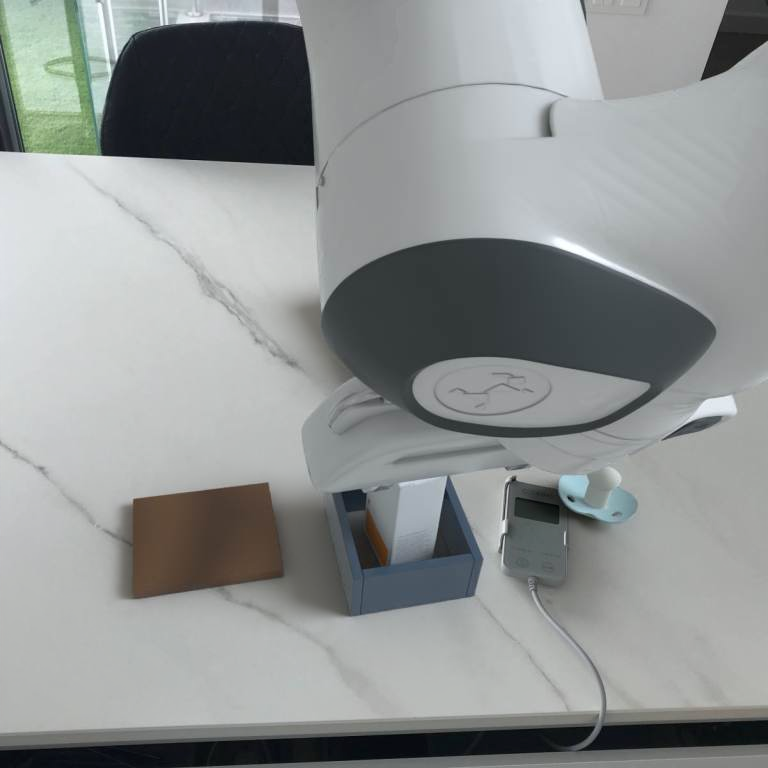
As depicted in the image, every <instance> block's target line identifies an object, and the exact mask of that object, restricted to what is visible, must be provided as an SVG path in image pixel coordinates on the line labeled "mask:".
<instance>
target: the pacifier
mask: <svg viewBox="0 0 768 768" xmlns="http://www.w3.org/2000/svg"><path fill="white" fill-rule="evenodd" d="M621 483H622V475H621V474H620V472H619V471H618V470H616V469H615V468H614V467H611V466H610V465H609V466H607V467H605V468H603V469H601V470H599V471H596V472H593V473H589V474H584V475H561V477H560V478H559V481H558V484H557V491H558V496H559V498H560V500H561V501H562V503H563V504H564V505H565V506H566V507H567V508H568V509H569V510H571V511H572V512H574V513H577V514H580V515H583V516H585V517H588V518H591V519H595V520H597V521H599V522H601V523H605V524H609V525H616V524H617V525H618V524H621V523H625V522H627V521H629V520H630V519H631V518H633V517H634V515H635V514H636V513H637V511H638V507H639V503H638V499H636V497H635V496H634V494H632V493H630V492H629V491H628V490H626V489H623V488H622V487H619V486H620V485H621ZM568 497H569V498H570V499H571V500H572V501H571V500H570V499H569V498H568ZM613 515H620V516H613Z"/></svg>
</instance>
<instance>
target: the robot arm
mask: <svg viewBox="0 0 768 768" xmlns="http://www.w3.org/2000/svg"><path fill="white" fill-rule="evenodd" d="M295 3H296V7H297V10H298V14H299V18H300V23H301V28H302V33H303V40H304V44H305V50H306V57H307V63H308V71H309V80H310V81H309V83H310V95H311V97H310V99H311V117H312V118H311V119H312V139H313V159H314V160H313V161H314V181H315V189H314V211H315V212H314V213H315V215H314V216H315V236H316V237H315V238H316V255H317V272H318V273H317V274H318V289H319V300H320V301H319V302H320V311H321V316H320V317H321V318H320V328H321V332H322V336H323V339H324V341H325V343H326V345H327V346H328V348H329V350H330V351H331V352H332V353H333V354H334V356H335V357H336V358H337V360H338V361H339V362H340V363H341V364H342V365H343V366H344V367H345V368H346V369H347V370H348V371H349V372H350V373H351V374H352V375H353V377H351V378H350V379H348V380H346V381H345V382H343V383H342V384H341V385H340V386H338V387H337V388H336V389H335V390H334V391H333V392H331V393H330V394H329V395H327V397H326V398H325V399H324V400H323V401H321V403H320V404H319V405H318V406H317V407H316V408H314V410H313V411H312V412H310V415H309V416H307V418H306V419H305V420H304V421H303V424H302V426H301V443H302V449H303V454H304V460H305V464H306V468H307V471H308V475H309V478H310V481H311V484H312V486H313V487H314V488H315V489H316V490H318V491H320V492H323V493H325V494H326V493H337V492H343V491H350V490H356V489H362V491H363V492H364V493H369V492H376V491H382V490H387V489H389V488H390V487H391V486H393V485H394V484H396V483H403V482H410V481H416V480H423V479H430V478H436V477H443V476H450V477H451V476H456V475H463V474H469V473H476V472H482V471H483V472H484V471H488V470H496V469H502V468H504V469H505V470H506V471H507V472H508V471H509V472H510V471H511V472H512V471H517V470H519V471H520V470H524V469H530V468H532V467H534V468H536V469H539V470H541V471H544V472H546V473H550V474H551V473H552V474H556V475H561V476H564V475H587V474H589V473H593V472H596V471H599V470H601V469H603V468H605V467H607V466H609V467H610V466H611V465H612V464H614V463H616V462H617V461H619V460H621V459H624V458H625V457H627V456H634V455H636V454H638V453H640V452H642V451H645V450H646V449H647V448H649V447H651V446H653V445H655V444H657V443H659V442H660V441H661V442H663V441H666V440H669V439H674V438H676V437H680V436H685V435H689V434H694V433H699V432H701V431H705V430H710V429H712V428H715V427H718V426H720V425H721V424H723V423H725V422H727V421H729V420H730V419H732V418H734V417H735V416H736V415H737V414H738V408H737V405H736V402H735V399H734V398H735V397H734V396H733V395H737V394H740V393H743V392H745V391H748V390H750V389H752V388H755V387H756V386H758V385H760V384H761V383H763V382H765V381H767V380H768V40H766V41H765V42H764V43H763V44H762V45H760V46H758V47H757V48H756V49H754V50H753V51H751V52H749V54H747V55H746V56H745V57H743V58H742V59H741V60H739V61H738V62H737V63H736V64H735V65H734V66H732V67H731V68H729V69H728V70H725V72H724V71H723V72H722V73H719V74H717V75H714V76H711V77H708V78H706V79H702V80H699V81H696V82H694V83H690V84H688V85H685V86H682V87H677V88H674V89H670V90H665V91H660V92H656V93H650V94H644V95H639V96H634V97H633V96H632V97H626V98H616V99H615V98H613V99H605V95H604V91H603V86H602V83H601V78H600V75H599V71H598V66H597V62H596V59H595V55H594V51H593V46H592V42H591V39H590V38H591V37H590V35H589V30H588V24H587V9H586V3H585V0H295Z"/></svg>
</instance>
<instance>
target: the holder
mask: <svg viewBox="0 0 768 768" xmlns="http://www.w3.org/2000/svg"><path fill="white" fill-rule="evenodd" d="M324 497H325V498H324V510H325V511H324V512H325V515H326V519H327V523H328V528H329V533H330V536H331V540H332V544H333V548H334V553H335V557H336V561H337V566H338V571H339V573H340V579H341V581H342V587H343V591H344V595H345V599H346V603H347V609H348V612H349V615H350V617H357V616H360V615H362V616H363V615H367V614H374V613H379V612H385V611H392V610H398V609H399V610H400V609H404V608H411V607H415V606H416V607H417V606H422V605H428V604H434V603H441V602H446V601H452V600H458V599H463V598H464V599H465V598H470V597H471V598H472V597H474V596H475V594H476V592H477V587H478V583H479V579H480V574H481V571H482V567H483V564H484V557H483V554H482V552H481V549H480V547H479V544H478V542H477V539H476V538H475V535H474V532H473V530H472V528H471V527H472V526H471V525H470V523H469V520H468V518H467V515H466V513H465V510H464V507H463V505H462V503H461V500H460V498H459V496H458V493H457V491H456V489H455V486H454V483H453V481H452V479H451V475H450V476H447V480H446V485H445V491H444V496H443V502H442V507H441V513H440V519H439V524H438V528H439V529H440V532H441V535H442V538H443V540H444V543H445V545H446V549H447V551H448V554H449V556H443V557H436V558H432V559H429V560H423V561H416V562H409V563H403V564H396V565H390V566H383V567H381V566H378V567H372V568H371V567H370V568H365V569H362V567H361V562H360V558H359V555H358V551H357V547H356V544H355V540H354V536H353V533H352V529H351V525H350V521H349V516H348V514H347V513H348V512H357V511H365V510H366V499H367V493H364V492H363V491H362V489H356V490H350V491H343V492H337V493H326V492H325V496H324Z"/></svg>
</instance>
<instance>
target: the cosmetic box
mask: <svg viewBox="0 0 768 768" xmlns="http://www.w3.org/2000/svg"><path fill="white" fill-rule="evenodd" d="M446 480H447V476H443V477H436V478H430V479H423V480H416V481H410V482H403V483H396V484H394V485H393V486H391V487H390V488H389V489H387V490H382V491H376V492H369V493H367V499H366V509H364V523H363V531H364V533H365V535H366V537H367V540H368V541H369V543H370V545H371V547H372V550H373V552H374V554H375V556H376V558H377V561H378V563H379V567H383V566H390V565H396V564H403V563H409V562H416V561H423V560H429V559H434V558H433V557H434V551H435V545H436V540H437V534H438V530H439V529H438V528H439V519H440V513H441V507H442V502H443V496H444V491H445V485H446Z"/></svg>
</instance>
